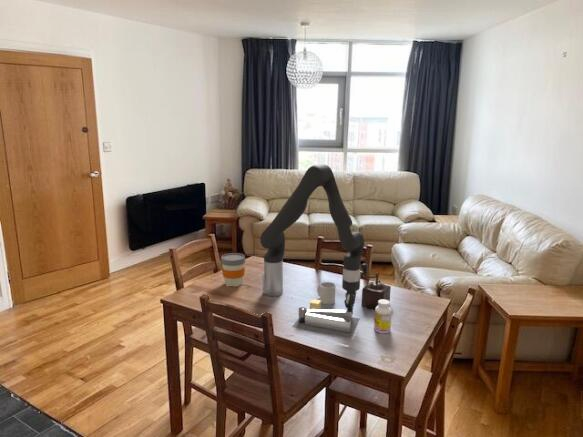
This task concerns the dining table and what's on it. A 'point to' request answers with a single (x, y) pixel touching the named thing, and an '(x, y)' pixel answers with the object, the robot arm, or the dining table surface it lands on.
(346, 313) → the bar
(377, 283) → the coffee grinder
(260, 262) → the dining table surface
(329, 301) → the cup
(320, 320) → the base
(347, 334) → the mat
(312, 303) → the block
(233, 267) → the reusable coffee cup
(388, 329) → the supplement bottle
